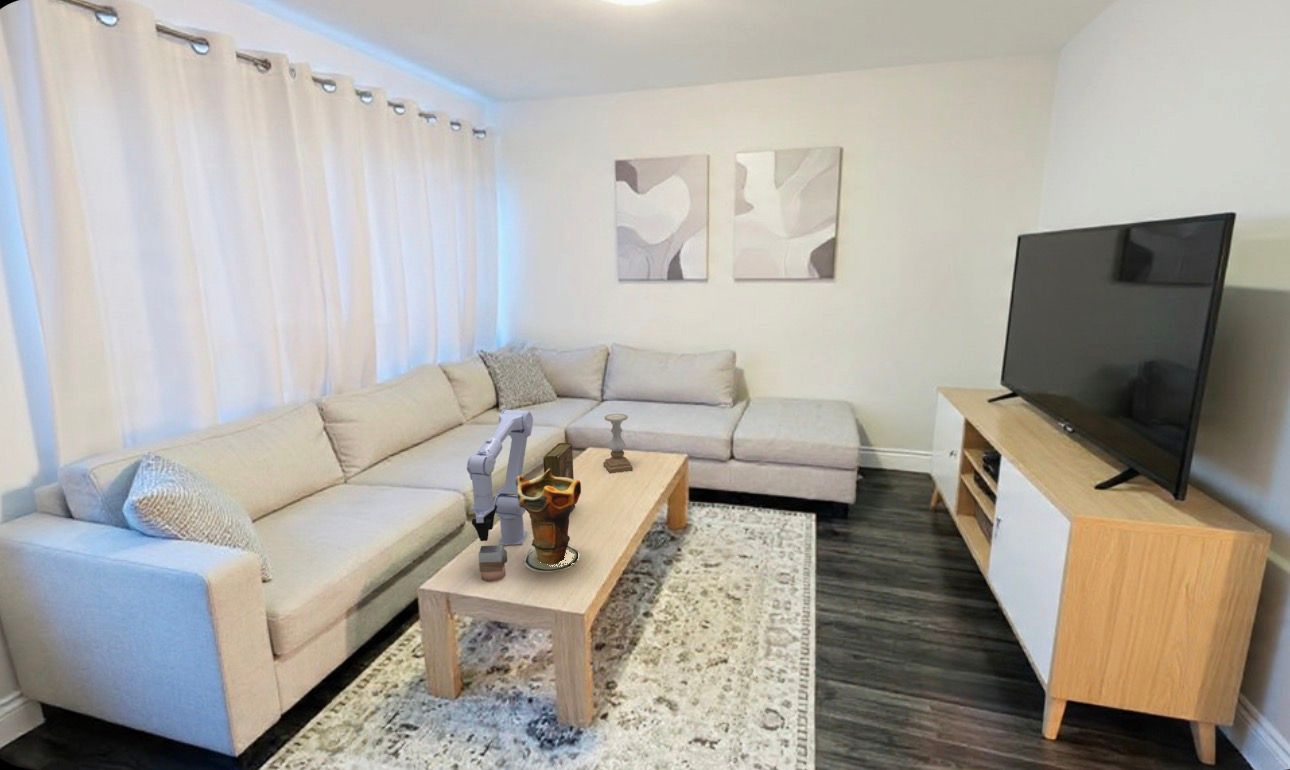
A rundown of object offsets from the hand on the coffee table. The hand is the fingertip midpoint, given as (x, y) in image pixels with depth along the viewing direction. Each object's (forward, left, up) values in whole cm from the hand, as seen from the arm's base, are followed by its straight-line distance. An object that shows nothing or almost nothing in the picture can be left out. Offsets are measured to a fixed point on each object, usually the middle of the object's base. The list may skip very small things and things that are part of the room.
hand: (486, 534), depth 185 cm
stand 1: (+8, +3, -9) cm, 13 cm away
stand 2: (-1, +2, -9) cm, 10 cm away
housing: (+8, +3, -7) cm, 11 cm away
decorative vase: (-1, +20, -10) cm, 22 cm away
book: (-34, +20, -10) cm, 41 cm away
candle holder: (-82, +41, -10) cm, 92 cm away
